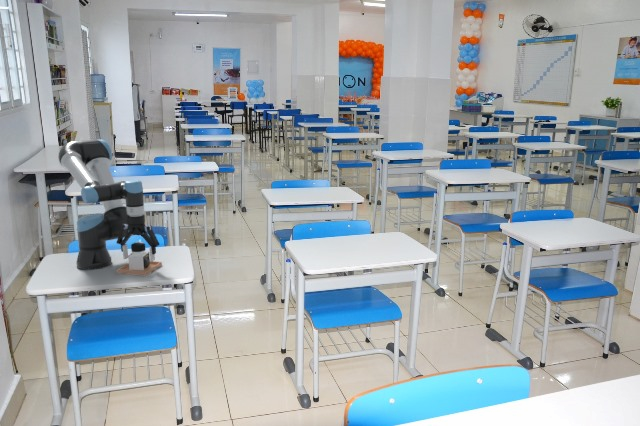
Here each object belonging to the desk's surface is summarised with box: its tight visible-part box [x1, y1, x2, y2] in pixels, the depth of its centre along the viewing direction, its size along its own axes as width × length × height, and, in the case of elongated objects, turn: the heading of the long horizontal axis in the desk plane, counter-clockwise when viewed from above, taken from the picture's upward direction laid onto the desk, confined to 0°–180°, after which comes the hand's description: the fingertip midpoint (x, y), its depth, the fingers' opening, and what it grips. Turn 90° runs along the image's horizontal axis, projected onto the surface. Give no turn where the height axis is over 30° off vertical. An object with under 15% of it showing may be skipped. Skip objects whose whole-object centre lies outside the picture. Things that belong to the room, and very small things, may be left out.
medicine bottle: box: [127, 241, 150, 271], centre depth 240 cm, size 7×7×12 cm
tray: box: [116, 260, 163, 276], centre depth 241 cm, size 14×14×2 cm
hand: (139, 259), depth 240 cm, fingers open, 13 cm apart
